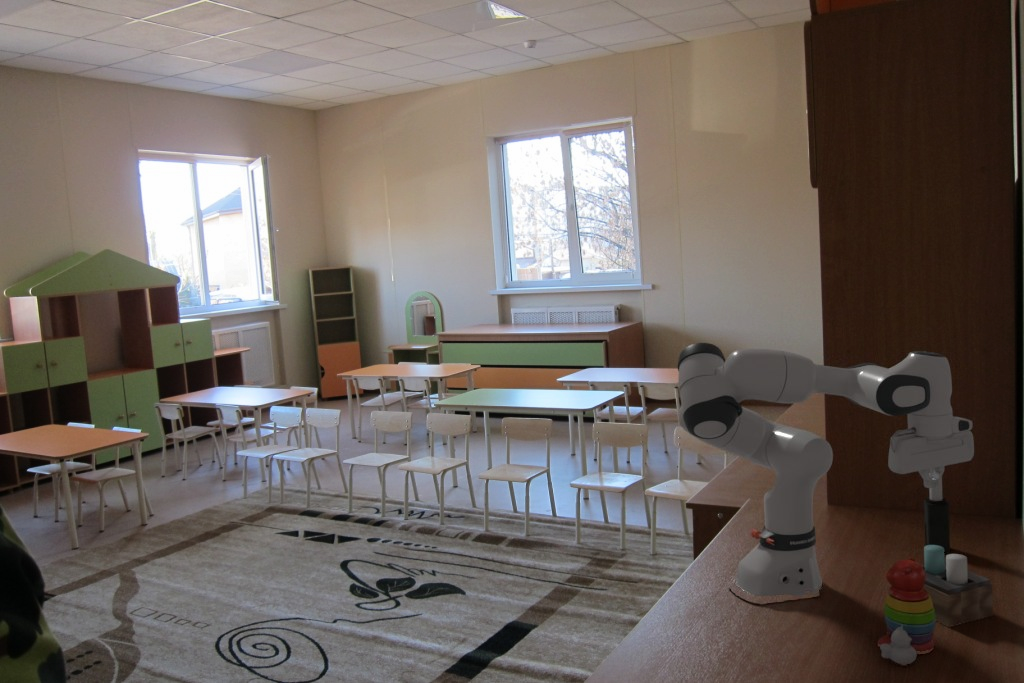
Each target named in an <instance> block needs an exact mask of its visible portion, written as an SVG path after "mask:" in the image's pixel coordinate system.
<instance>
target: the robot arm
mask: <svg viewBox="0 0 1024 683" xmlns="http://www.w3.org/2000/svg"><path fill="white" fill-rule="evenodd" d="M677 371H678V379H677V380H678V395H679V397H680V403H681V406H680V407H679V409H678V423H679V425H680V427H681V428H682V429H683V430H684V431H685V432H686V433H688V434H689V436H690V435H691V436H692V437H694V438H695V439H697V440H699V441H701V442H702V443H705V444H707V445H709V446H712V447H714V448H716V449H718V450H721V451H725V452H727V453H730V454H732V455H735V456H737V457H740V458H742V459H744V460H746V461H749V462H751V463H753V464H755V465H758V466H760V467H764V468H767V469H770V470H773V471H774V472H775V480H774V481H775V482H774V486H773V487H771V488H769V490H767V492H766V493H765V494H764V495H763V496H764V497H763V511H764V526H763V528H762V531H759V530H757V528H756V529H755V528H754V529H751V531H750V536H751V537H752V538H754V539H755V540H758V541H759V542H758V544H757V545H756V546H755V547H753V549H751V551H749V553H747V555H745V556H744V557H743V558H741V560H740V561H738V562H739V563H738V565H737V570H736V571H737V572H736V578H733V579H734V580H733V579H732V580H733V582H732V583H734V582H735V580H737V581H736V583H735V584H736V585H737V586H738V587H740V588H741V589H742V590H743V591H746V592H747V593H749V594H752V595H755V596H762V597H763V596H773V595H774V596H776V595H784V594H785V595H786V594H787V595H792V596H804V595H812V594H818V593H819V594H820V591H819V587H820V586H821V585H822V581H823V579H822V577H821V573H820V568H819V565H818V561H817V555H816V553H817V552H816V547H815V546H816V543H817V542H816V541H817V540H816V539H817V536H816V527H815V526H814V520H813V516H814V515H813V514H814V512H813V510H814V508H813V497H814V494H815V492H814V491H815V488H816V486H817V483H818V481H819V480H820V478H823V476H825V475H826V474H827V473H828V471H830V469H831V466H832V464H833V458H834V453H833V448H832V446H831V444H830V443H829V441H828V440H826V439H824V438H823V437H821V436H819V435H818V434H816V433H814V432H812V431H809V430H805V429H800V428H796V427H793V426H789V425H786V424H781V423H778V422H774V421H772V420H770V419H767V418H766V417H763V416H762V415H761V414H760V413H758V412H756V411H754V410H751V409H749V408H747V407H744V406H742V405H741V404H740V403H741V402H743V401H746V400H758V401H764V402H769V403H777V404H778V403H779V404H800V403H801V404H802V403H804V402H806V401H807V400H808V399H810V398H811V397H812V395H813V394H815V393H816V394H825V395H831V396H833V395H834V396H841V397H844V398H846V399H847V400H848V401H850V402H851V403H853V404H855V405H857V406H859V407H863V408H868V409H870V410H873V411H876V412H879V413H880V414H883V415H886V416H890V417H899V416H900V417H901V416H904V415H907V428H906V429H899V430H897V431H895V432H894V433H893V435H892V436H891V437H890V441H889V442H890V444H889V451H888V461H887V462H888V464H887V465H888V468H889V470H890V471H892V473H896V474H899V475H906V474H911V473H915V472H918V473H919V475H920V476H921V478H922V479H923V487H924V488H926V489H929V488H932V487H937V486H940V478H941V477H942V478H943V474H944V472H945V469H946V468H945V467H946V466H950V465H956V464H960V463H966V462H969V461H971V460H972V459H973V458H974V455H975V444H974V443H975V442H974V435H973V433H972V429H973V421H972V420H970V419H967V418H965V417H959V416H957V415H953V414H954V413H953V407H952V405H951V397H952V393H953V386H952V385H953V383H952V382H953V381H952V372H951V367H950V363H949V360H948V358H947V357H946V356H945V355H943V354H942V353H937V352H931V351H924V350H914V351H911V352H909V353H908V354H907V356H906V357H905V358H904V359H903V360H902V361H900V362H899V363H897V364H895V365H893V366H891V367H890V368H888V367H884V366H881V365H878V364H876V363H873V362H862V363H858V364H856V365H851V366H846V367H839V366H833V365H832V366H831V365H824V364H816V363H814V362H813V360H812V359H811V358H809V357H806V356H804V355H800V354H797V353H794V352H790V351H785V350H778V349H770V348H769V349H768V348H767V349H766V348H741V349H736V350H733V351H732V352H731V353H729V355H728V356H727V357H726V358H725V355H724V353H723V352H722V350H721V348H720V347H718V346H717V345H715V344H712V343H707V342H697V343H693V344H690V345H688V346H686V347H685V348H683V350H682V351H681V352H680V354H679V357H678V360H677ZM931 468H932V469H934V471H933V474H932V477H930V475H929V473H931ZM806 591H810V592H812V593H810V594H808V593H805V592H806Z"/></svg>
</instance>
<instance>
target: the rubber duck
mask: <svg viewBox="0 0 1024 683" xmlns="http://www.w3.org/2000/svg"><path fill="white" fill-rule="evenodd" d="M911 640H912V639H911V638H910V637H909V636H908V634H907V632H906V631H905V630H903V626H901V627H898V628H897V629H896V630H895V631H894V632H893V633H892V636H891V641H892V642H891V643H890V645H889V644H881V645H880V648H879V650H881V653H880V655H881V657H882V658H883V659H890V660H891V661H892V660H893V661H895V662H897V663H902V664H906V663H910V662H913V661H914V662H915V660H916V659H917V656H918V655H917V652H916V650H915V649H914V648H913V647H912V646H911V645H909V644H910V641H911ZM893 661H892V662H893ZM914 662H913V663H914Z"/></svg>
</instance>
